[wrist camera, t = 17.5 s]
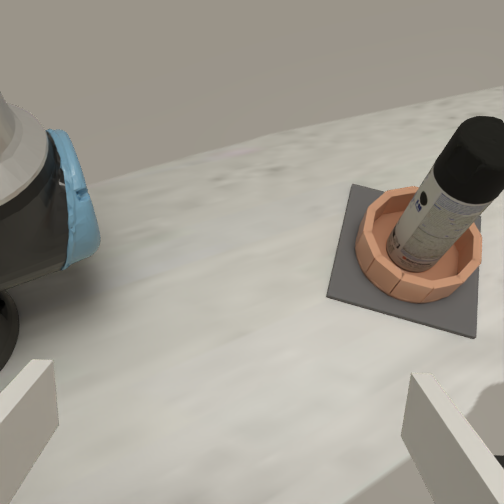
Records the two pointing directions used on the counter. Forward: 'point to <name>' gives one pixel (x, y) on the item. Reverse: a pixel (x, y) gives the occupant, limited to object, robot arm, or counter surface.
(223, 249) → the counter surface
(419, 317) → the mat
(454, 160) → the spray can
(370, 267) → the bowl
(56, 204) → the robot arm
